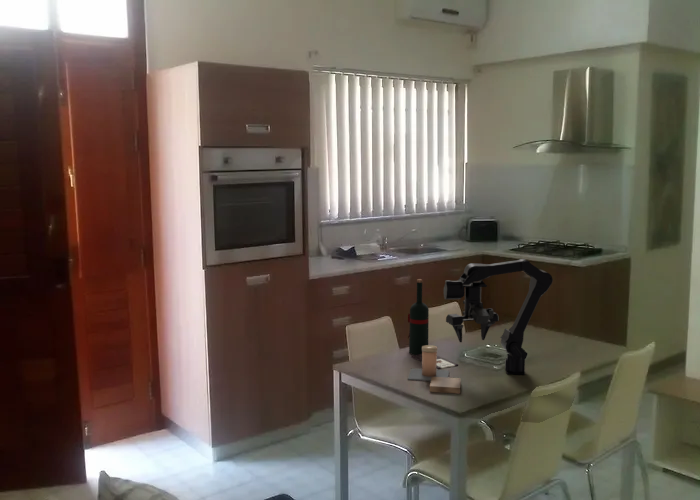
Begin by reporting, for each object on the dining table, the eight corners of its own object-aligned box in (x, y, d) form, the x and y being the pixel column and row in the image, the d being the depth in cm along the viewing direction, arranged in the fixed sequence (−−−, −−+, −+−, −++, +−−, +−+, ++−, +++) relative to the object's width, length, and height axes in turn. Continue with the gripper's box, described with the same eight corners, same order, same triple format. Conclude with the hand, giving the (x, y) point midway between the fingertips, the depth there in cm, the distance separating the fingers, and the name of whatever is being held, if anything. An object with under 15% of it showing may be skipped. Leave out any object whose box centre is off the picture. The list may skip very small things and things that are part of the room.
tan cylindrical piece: (437, 372, 245) (437, 345, 244) (436, 377, 240) (437, 349, 239) (421, 371, 246) (422, 344, 245) (420, 376, 241) (421, 348, 239)
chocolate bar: (429, 352, 270) (457, 364, 255) (429, 354, 271) (457, 366, 255) (411, 355, 266) (438, 368, 251) (411, 358, 266) (438, 370, 251)
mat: (449, 371, 248) (449, 370, 248) (447, 382, 236) (447, 380, 236) (411, 369, 250) (411, 368, 250) (407, 379, 238) (407, 378, 238)
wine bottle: (416, 347, 280) (417, 276, 276) (432, 353, 272) (433, 279, 268) (401, 350, 275) (402, 278, 271) (417, 356, 267) (418, 281, 263)
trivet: (460, 383, 234) (460, 378, 234) (459, 393, 224) (459, 387, 224) (431, 382, 236) (431, 376, 236) (429, 391, 226) (429, 386, 226)
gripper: (460, 305, 232) (459, 349, 234) (507, 301, 238) (506, 344, 240) (445, 299, 242) (444, 341, 244) (491, 295, 248) (489, 336, 250)
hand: (471, 341), depth 244 cm, fingers open, 9 cm apart
